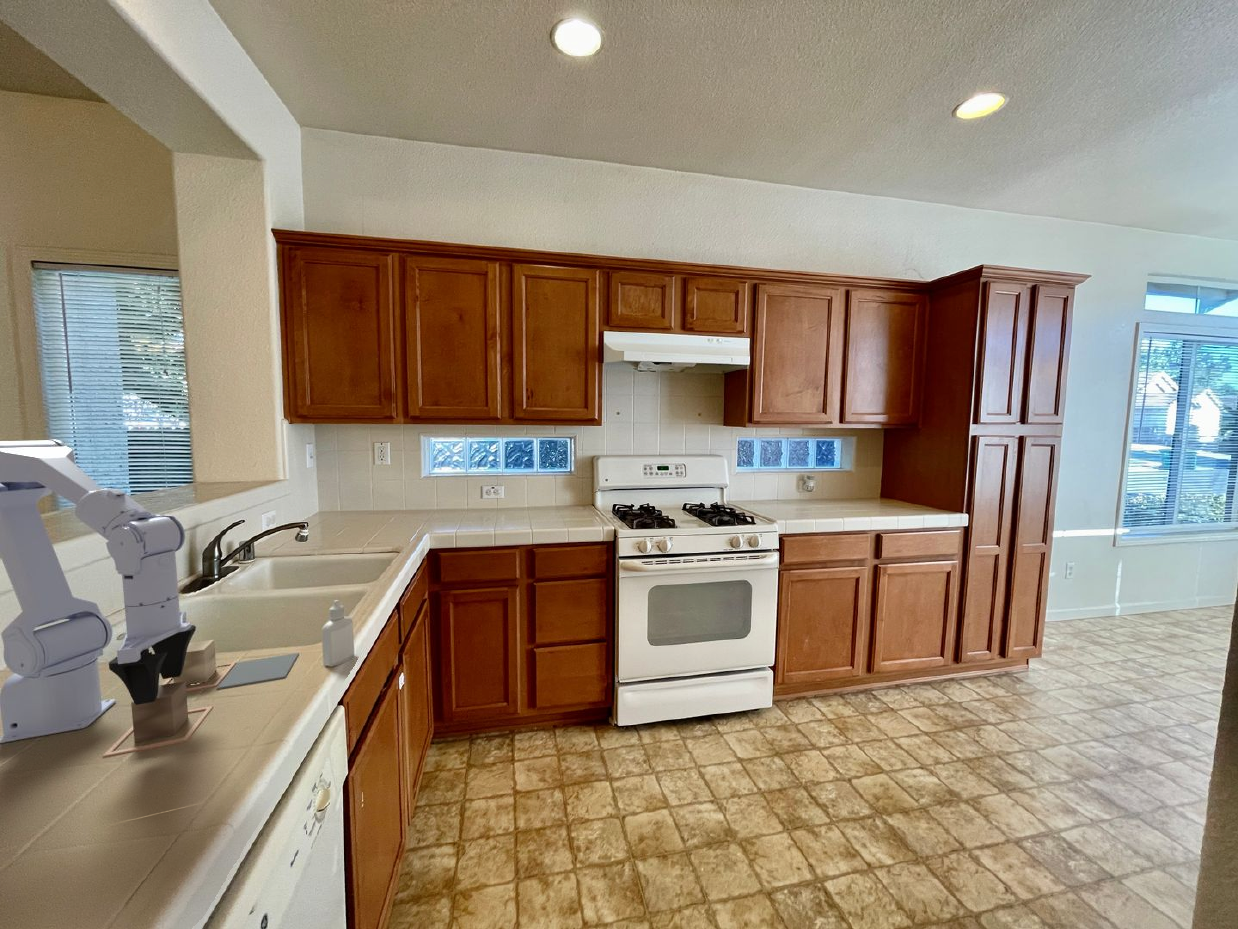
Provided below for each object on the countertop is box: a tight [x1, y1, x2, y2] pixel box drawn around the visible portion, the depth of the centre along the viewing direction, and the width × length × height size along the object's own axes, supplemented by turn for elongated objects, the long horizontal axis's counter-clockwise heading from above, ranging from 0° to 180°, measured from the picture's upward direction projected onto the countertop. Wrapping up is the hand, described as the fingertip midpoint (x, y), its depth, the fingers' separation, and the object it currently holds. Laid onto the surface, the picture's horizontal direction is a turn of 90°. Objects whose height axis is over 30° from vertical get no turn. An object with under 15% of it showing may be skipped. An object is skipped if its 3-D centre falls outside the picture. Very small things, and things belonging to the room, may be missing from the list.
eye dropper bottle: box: [321, 599, 355, 668], centre depth 93 cm, size 4×6×12 cm
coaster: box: [216, 652, 300, 691], centre depth 90 cm, size 10×10×1 cm
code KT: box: [102, 705, 214, 758], centre depth 72 cm, size 9×9×1 cm
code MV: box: [161, 661, 237, 692], centre depth 87 cm, size 9×9×1 cm
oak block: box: [172, 639, 217, 686], centre depth 87 cm, size 4×4×6 cm
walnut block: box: [131, 681, 189, 743], centre depth 72 cm, size 4×4×6 cm
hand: (159, 689), depth 71 cm, fingers open, 7 cm apart
